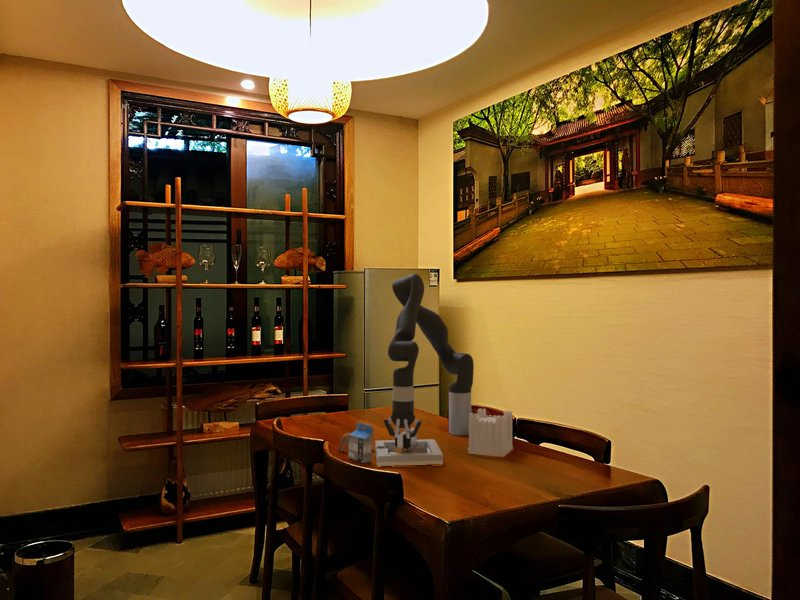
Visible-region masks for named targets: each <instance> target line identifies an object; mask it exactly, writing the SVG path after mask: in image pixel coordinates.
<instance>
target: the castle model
mask: <svg viewBox="0 0 800 600" xmlns="http://www.w3.org/2000/svg"><path fill="white" fill-rule="evenodd" d="M467 449H468V450H469V451H468V450H467V452H468V453H469V454H479V455H491V456H502V457H504V456H505V455H506V454H507V453H509V452H510V451H511V450H512V449H513V450H514V446H513V411H512V410H504V411H503V415H494V414H493V416H492V415H491V414H489V415H488V414H487V408H478V409H477V412H476V413H473V412H472V413H471V414H469V435H468V447H467ZM513 450H512V451H513ZM512 451H511V452H512ZM511 452H510V453H511ZM468 453H467V454H468ZM510 453H509V454H510ZM469 454H468V455H469Z"/></svg>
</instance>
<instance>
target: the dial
mask: <svg viewBox="0 0 800 600" xmlns="http://www.w3.org/2000/svg"><path fill="white" fill-rule="evenodd" d="M410 428H411V433H413V431H414V429H415V427H410ZM406 438H407V437H406V431H405V430H404V431H402V432H400V433H399V434H397V447H395V445H391V446H389V447H388V454H389V453H390V452H394V453H427V447H426V446H424V445H420V444H417V440H418V433H417V434H416V435H415V437H411V446H410V448H409V449H406Z"/></svg>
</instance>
